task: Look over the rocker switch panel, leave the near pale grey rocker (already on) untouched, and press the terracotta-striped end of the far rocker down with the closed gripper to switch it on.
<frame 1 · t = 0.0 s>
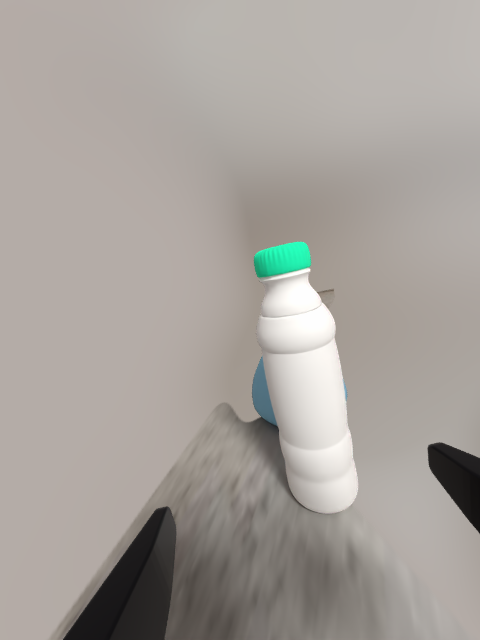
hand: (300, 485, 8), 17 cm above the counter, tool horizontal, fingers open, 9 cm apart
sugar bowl: (300, 406, 41), on the counter
white bottle: (322, 486, 26), on the counter
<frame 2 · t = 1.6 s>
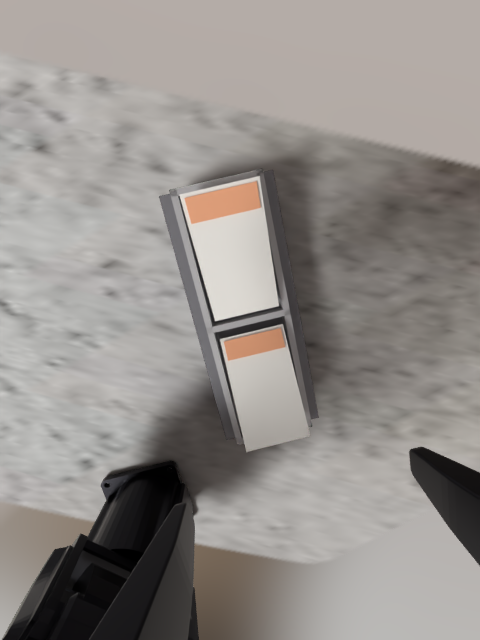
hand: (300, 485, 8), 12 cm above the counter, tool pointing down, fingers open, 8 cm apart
rocker switch panel: (244, 311, 19), on the counter
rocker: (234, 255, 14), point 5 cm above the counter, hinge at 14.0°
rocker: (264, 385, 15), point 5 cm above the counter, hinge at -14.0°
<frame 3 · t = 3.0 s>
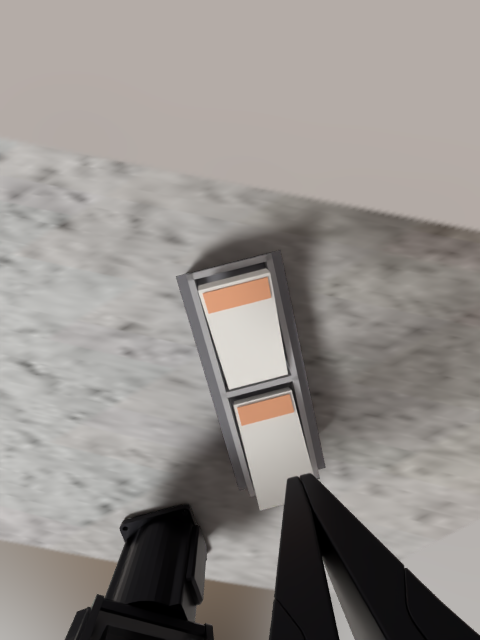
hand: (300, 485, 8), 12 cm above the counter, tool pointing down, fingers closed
rocker switch panel: (253, 365, 20), on the counter
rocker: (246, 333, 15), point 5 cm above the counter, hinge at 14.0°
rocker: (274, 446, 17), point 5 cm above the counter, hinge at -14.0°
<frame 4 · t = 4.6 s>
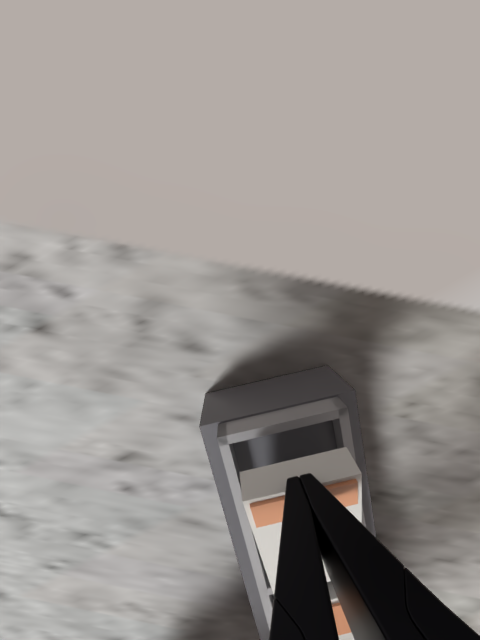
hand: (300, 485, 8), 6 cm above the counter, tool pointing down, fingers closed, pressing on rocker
rocker switch panel: (293, 503, 15), on the counter
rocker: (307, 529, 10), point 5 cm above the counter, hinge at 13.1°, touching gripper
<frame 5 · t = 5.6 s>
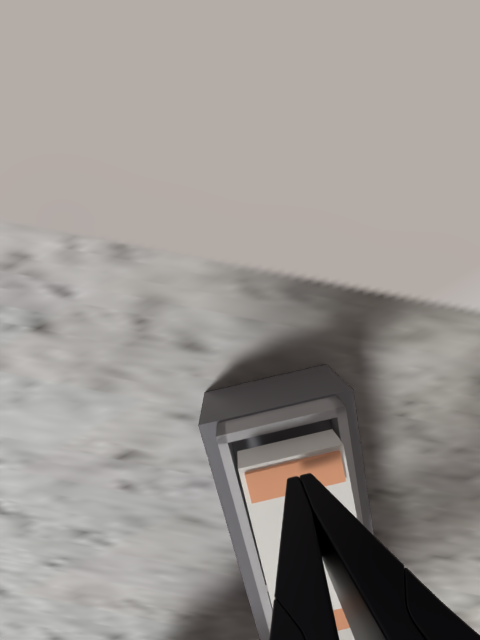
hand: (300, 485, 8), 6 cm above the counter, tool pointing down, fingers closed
rocker switch panel: (292, 501, 15), on the counter
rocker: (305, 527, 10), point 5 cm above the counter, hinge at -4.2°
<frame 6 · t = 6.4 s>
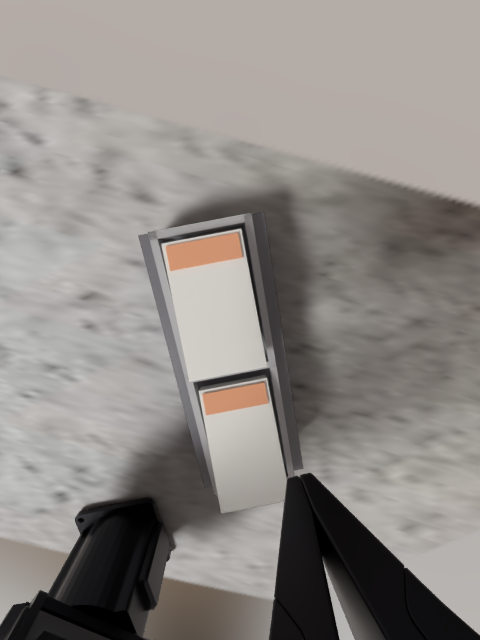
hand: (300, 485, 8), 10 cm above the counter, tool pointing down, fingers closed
rocker switch panel: (230, 350, 18), on the counter
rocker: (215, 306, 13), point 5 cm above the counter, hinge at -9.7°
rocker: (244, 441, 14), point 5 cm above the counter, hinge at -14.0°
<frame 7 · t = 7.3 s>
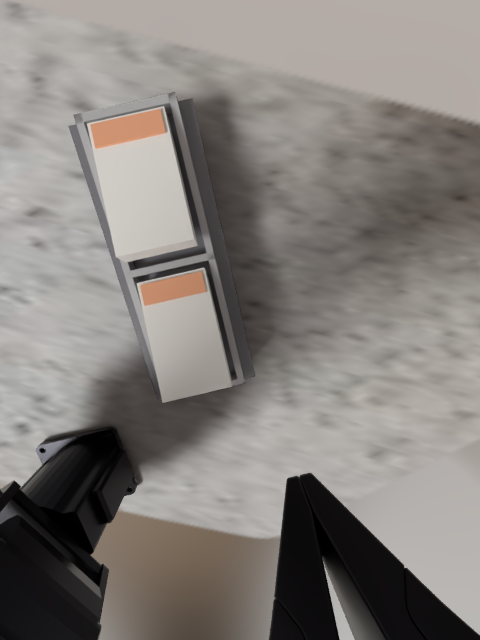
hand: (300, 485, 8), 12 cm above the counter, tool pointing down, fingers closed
rocker switch panel: (181, 266, 18), on the counter
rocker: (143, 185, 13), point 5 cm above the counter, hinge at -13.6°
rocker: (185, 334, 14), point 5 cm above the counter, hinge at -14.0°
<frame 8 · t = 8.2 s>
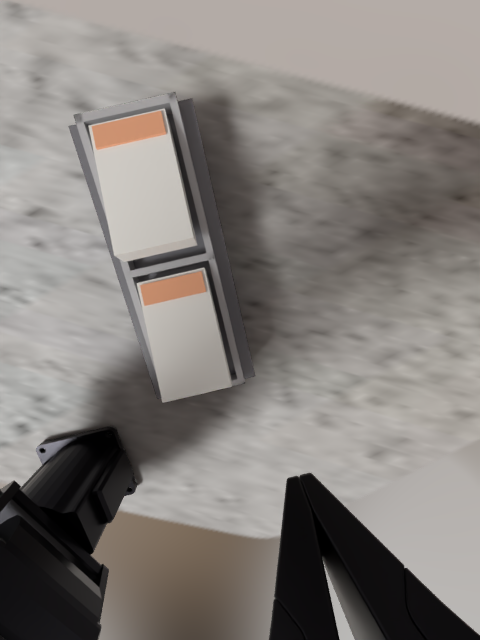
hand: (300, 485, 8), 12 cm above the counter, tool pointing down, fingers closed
rocker switch panel: (181, 266, 18), on the counter
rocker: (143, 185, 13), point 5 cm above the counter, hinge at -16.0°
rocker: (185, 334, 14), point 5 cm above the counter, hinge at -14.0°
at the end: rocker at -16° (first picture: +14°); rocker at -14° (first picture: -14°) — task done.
